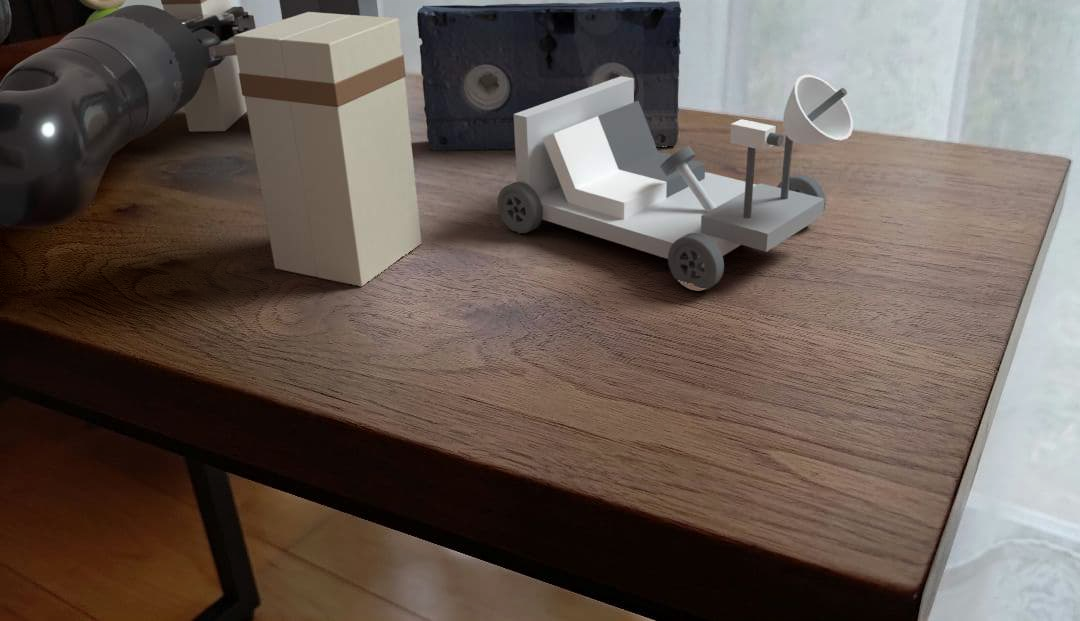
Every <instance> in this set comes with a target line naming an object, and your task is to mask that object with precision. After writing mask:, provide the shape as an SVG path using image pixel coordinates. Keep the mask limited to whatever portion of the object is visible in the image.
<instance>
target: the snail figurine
mask: <svg viewBox="0 0 1080 621" xmlns="http://www.w3.org/2000/svg"><path fill="white" fill-rule="evenodd" d="M78 1H79V2H80V3H81V4H82V5H83V6H85V7H87V8H89V9H93V10H95V11H94V12H92V14H90V15H89V17H88V18H87V19H86V22H85V24H84V25H86V24H88V23H91V22H93V21H95V20H97V19H99V18H101V17H103V16H106V15H108V14H110V13H112V12H114V11H116V10H118V9H120V7H122V6H123V5H124V4H125V3H126V1H127V0H78Z"/></svg>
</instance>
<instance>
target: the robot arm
mask: <svg viewBox="0 0 1080 621" xmlns="http://www.w3.org/2000/svg"><path fill="white" fill-rule="evenodd" d="M12 19H13V18H12V11H11V5H10V2H9V0H0V45H1V44H2V43H3V42H4V41H5V40H6V38H7V37H8V35H9V33H10V31H11V28H12ZM85 24H86V23H85ZM85 24H84V25H82V26H80V27H78V28H76V29H74V30H73V31H71V32H69V33H68V34H67V35H64V37H63V38H61V39H60V40H59V41H58V42H56V43H54V44H52V45H50V46H48V47H46V48H44V49H41V50H40V51H38V52H36V53H33V54H32V55H30V56H28V57H26V58H25V59H24V60H21V61H20V62H19V63H17V64H16V65H15V66H14V67H13V68H12V69H10V70H9V71H8V72H7V73H6V75H5V76H4V77H3V79H2V80H1V82H0V228H13V229H34V230H35V229H46V228H52V227H55V226H58V225H62V224H65V223H67V222H69V221H72V220H74V219H76V218H77V217H79V216H81V215H82V214H83V213H85V212H86V211H87V209H88V208H89V207H90V206H91V205H92V203H93V201H94V200H95V197H96V194H97V192H98V189H99V186H100V183H101V181H102V178H103V176H104V174H105V172H106V169H107V168H108V165H109V163H110V162H111V159H112V158H113V155H114V154H116V153H117V152H119V151H120V150H121V149H123V148H124V147H125V146H126V145H128V144H129V143H131V142H132V141H135V140H137V139H140V138H141V137H143V136H145V135H147V134H149V133H150V132H152V131H153V130H154V129H156V128H157V127H158V126H160V125H161V124H162V123H164V122H165V121H166V120H168V119H169V118H170V117H171V116H173V115H174V114H176V113H177V112H178V111H179V110H180V109H182V108H184V105H186V104H187V103H188V102H189V101H190V100H191V99H192V98H193V97H194V96H195V94H196V93H197V91H198V89H199V87H200V85H201V82H202V79H203V76H204V73H205V71H206V69H208V68H211V67H214V66H217V65H219V64H220V63H221V62H222V61H223V60H224V59H225V56H233V55H237V53H236V48H235V42H234V35H237V34H240V33H243V32H246V31H249V30H253V29H256V28H257V26H256V22H255V16H254V15H252V14H249V11H245V8H244V7H243V6H231V8H230V9H229V10H227V11H225V12H224V13H222V14H220V15H218V16H217V15H198V16H196V17H193V18H190V19H177V18H176V17H174V16H173V15H171V14H170V13H168V12H166V11H164V9H163V8H159V7H157V6H153V5H148V4H132V5H127V6H123V7H121V8H119V9H118V10H116V11H114V12H112V13H110V14H108V15H106V16H103V17H101V18H99V19H97V20H95V21H93V22H91V23H88V24H86V25H85Z"/></svg>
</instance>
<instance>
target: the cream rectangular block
mask: <svg viewBox="0 0 1080 621" xmlns="http://www.w3.org/2000/svg"><path fill="white" fill-rule="evenodd" d="M160 2H161V5H162V10H164V11H166V12H168V13H170V14H171V15H173V16H174V17H176V18H177V19H190V18H193V17H196V16H198V15H217V16H218V15H220V14H222V13H224V12H225V11H227V10H229V9H230V8H232V4H231V0H160ZM239 73H240V70H239V64H238V59H237V55H233V56H225V59H224V60H223V61H222V62H221V63H220V64H219V65H217V66H214V67H211V68H208V69H206V71H205V73H204V76H203V79H202V82H201V85H200V87H199V89H198V91H197V93H196V94H195V96H194V97H193V98H192V99H191V100H190V101H189V102H188V103H187V104H186V105H184V106H183V109H184V114H185V118H186V123H187V128H188V132H191V133H193V132H226V131H227V130H228V129H229V128H230V127H232V126H233V125H234V124H235V123H236V122H237V121H238V120H239V119H241V118H242V117H243V116H244V115H245V114H247V109H246V103H245V98H244V96H243V95H242V90H241V85H240V79H239Z"/></svg>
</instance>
